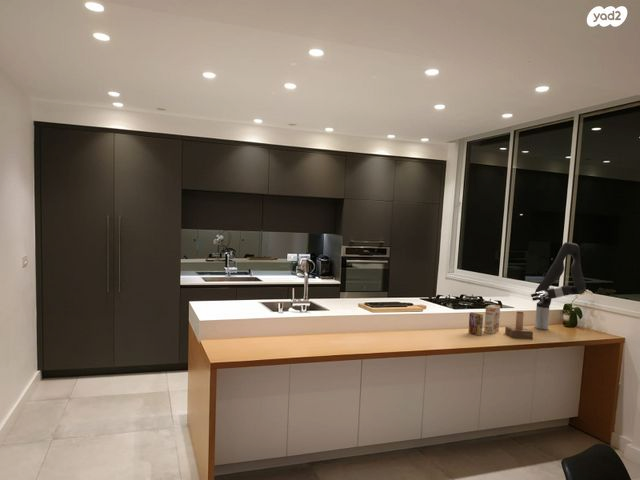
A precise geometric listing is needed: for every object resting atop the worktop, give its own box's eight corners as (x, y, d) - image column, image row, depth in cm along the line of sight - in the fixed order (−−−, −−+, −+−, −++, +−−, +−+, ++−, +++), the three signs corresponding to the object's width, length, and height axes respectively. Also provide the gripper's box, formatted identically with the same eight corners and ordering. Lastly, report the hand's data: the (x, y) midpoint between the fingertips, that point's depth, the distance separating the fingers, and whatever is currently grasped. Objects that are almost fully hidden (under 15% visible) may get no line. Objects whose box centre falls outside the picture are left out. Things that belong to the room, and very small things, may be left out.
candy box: (482, 335, 323) (483, 314, 323) (479, 335, 321) (480, 314, 320) (471, 332, 330) (472, 312, 330) (468, 333, 328) (469, 312, 327)
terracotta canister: (514, 328, 328) (515, 311, 328) (520, 328, 328) (521, 311, 328) (517, 329, 324) (518, 312, 323) (523, 329, 324) (524, 312, 323)
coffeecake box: (493, 334, 328) (495, 308, 328) (483, 332, 332) (485, 306, 332) (499, 331, 340) (500, 305, 339) (489, 329, 344) (491, 304, 344)
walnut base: (505, 333, 333) (505, 326, 333) (523, 334, 333) (524, 327, 333) (512, 338, 319) (513, 330, 319) (532, 339, 319) (533, 331, 319)
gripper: (552, 285, 333) (529, 289, 339) (555, 290, 320) (531, 295, 326) (554, 294, 334) (531, 299, 340) (558, 300, 321) (534, 305, 326)
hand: (531, 297), depth 333 cm, fingers open, 8 cm apart
